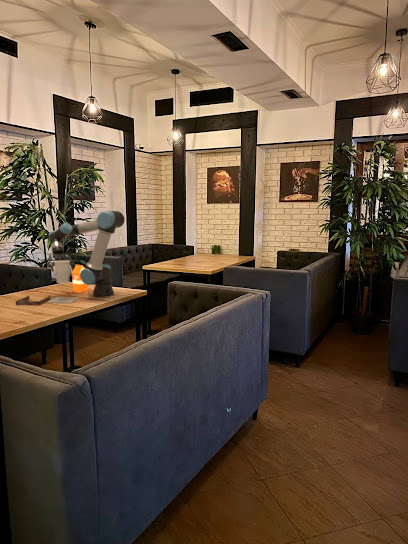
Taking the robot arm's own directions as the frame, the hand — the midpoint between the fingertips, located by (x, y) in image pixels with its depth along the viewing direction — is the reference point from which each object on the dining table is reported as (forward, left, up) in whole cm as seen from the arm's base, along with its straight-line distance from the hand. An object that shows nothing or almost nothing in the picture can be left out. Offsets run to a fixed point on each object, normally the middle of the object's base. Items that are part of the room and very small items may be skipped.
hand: (63, 274), depth 274 cm
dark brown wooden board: (+20, +5, -19) cm, 27 cm away
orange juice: (+3, -38, -19) cm, 43 cm away
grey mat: (+2, -2, -19) cm, 19 cm away
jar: (+2, -2, -6) cm, 7 cm away
